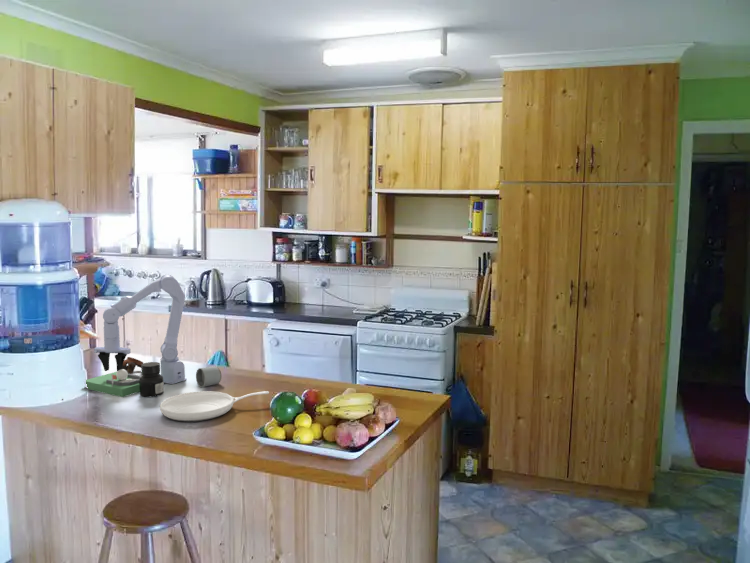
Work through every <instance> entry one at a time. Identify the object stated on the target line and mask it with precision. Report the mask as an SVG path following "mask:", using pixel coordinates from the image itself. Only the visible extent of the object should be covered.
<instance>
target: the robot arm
mask: <svg viewBox="0 0 750 563" xmlns="http://www.w3.org/2000/svg"><path fill="white" fill-rule="evenodd" d="M162 290H163V291H164V293H166V294H168V295H169V296H170V297H171V299H172V302H171V308H170V313H169V319H168V322H167V328H166V333H165V338H164V341H163V344H162V345H161V346H160V353H161V356H162V357H161V358H160V362H159V363H160V375H162V376H163V382H164V383H165V384H168V385H169V384H170V385H175V384H176V383H180V382H183V381H187V378H186V372H185V371H186V370H185V364H184V362H183V361H180V359H179V356H178V354H179V352H178V337H179V333H180V332H179V331H180V327H181V321H182V317H183V316H182V315H183V311H184V305H185V302H186V301H185V300H186V296H185V293H184V290H183V289H182V287H181V284H180V282H178V280H177V279H176V278H175V277H174V276H172V274H163V275H162V276H161V277H159V278H158V277H157V278H156V279H155V280H153V281H152V282H150V283H149V284H147V285H145V286H144V287H143V288H141V289H140V290H139V291H137V292H136V293H134V294H133V295H132V296H131V295H126V296H122V297H120V300H119V301H117V302H115V303H114V304H113V303H112V304H110V307H107V308H106V309H105V310H103V314H102V318H103V342H104V343H103V346H102V347H101V346H100V347H99V346H96V347H94V348H93V353H94V354H97V353H98V354H97V357H98V359H99V360H100V362H101V364H102V366H103V369H104V371H105V372H106V371H110V356H111V354H114V358H115V363H116V372H117V371H119V370H120V369H122V365H123V362H124V360H126V357H127V356H128V355H130V354H131V348H127V347H121V344H120V342H121V341H120V338H121V336H120V325H119V319H120V317H124V316H125V315H127V314H128V313H130V311H133V310H134V309H135V308H136V307H137V303H139V302H140V301H142V300H143V299H145V298H147V297H148V296H150V295H151V294H153V293H161V292H162Z"/></svg>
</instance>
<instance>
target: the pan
mask: <svg viewBox="0 0 750 563" xmlns="http://www.w3.org/2000/svg"><path fill="white" fill-rule="evenodd" d="M269 393H270V391H268V390H266V391H265V390H263V391H258V392H257V391H256V392H251V393H248V394H245V395H242V396H237V397H234V396H232V395H230V394H228V393H226V392H220V391H210V390H209V391H207V390H204V391H203V390H202V391H192V392H184V393H180V394H176V395H173V396H170V397H167V398H166V399H164V400H162V402H161V403H160V405H159V409H160V411H161V414H163V415H164V416H165V417H166V418H169V419H170V420H172V421H173V420H174V421H179V422H199V421H207V420H212V419H216V418H218V417H221V416H223V415H225V414H227V412H229V411H230V410H231V409H232V408H233V405H234V403H237V402H238V401H240V400H243V399H245V398H248V397H251V396H258V395H261V396H262V395H269Z"/></svg>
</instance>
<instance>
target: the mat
mask: <svg viewBox="0 0 750 563" xmlns="http://www.w3.org/2000/svg"><path fill="white" fill-rule="evenodd" d="M116 373H117V371H114V372H111V373H105V374H103V375H99V376H95V377H91V378H88V379H85V380H86V384H87V387H88V389H87V390H90V391H95V392H99V393H102V394H103V393H104V394H108V395H112V396H117V397H119V398H120V397H121V398H124V397H127V396H131V395H134V394H136V393H140V390H139V379H140V377H142V375H138V374H128V377H127V378H126V379H125V380H119V379H117V380H115V379H113V382H114V387H112V376H111V374H113V375H116ZM133 393H134V394H133ZM130 394H131V395H130Z"/></svg>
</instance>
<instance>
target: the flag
mask: <svg viewBox="0 0 750 563" xmlns="http://www.w3.org/2000/svg"><path fill="white" fill-rule="evenodd" d="M111 376H112V387H114V382H113V379H115V380H117V376H116V375H113V374H111Z"/></svg>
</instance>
